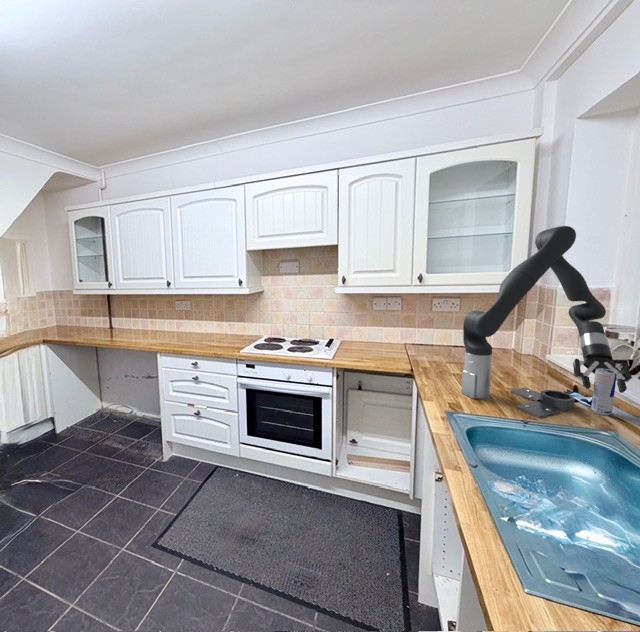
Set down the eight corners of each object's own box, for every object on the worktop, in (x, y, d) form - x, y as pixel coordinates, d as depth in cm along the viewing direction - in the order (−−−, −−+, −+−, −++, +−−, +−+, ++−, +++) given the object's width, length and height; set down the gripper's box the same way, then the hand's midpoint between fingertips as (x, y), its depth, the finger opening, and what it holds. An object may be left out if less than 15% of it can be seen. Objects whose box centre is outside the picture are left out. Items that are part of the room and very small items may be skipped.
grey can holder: (540, 418, 96) (541, 407, 96) (490, 396, 114) (491, 386, 114) (579, 408, 103) (580, 397, 102) (525, 389, 120) (526, 379, 120)
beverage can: (615, 414, 98) (621, 371, 96) (605, 417, 96) (610, 373, 94) (597, 408, 103) (602, 366, 100) (587, 410, 101) (591, 368, 99)
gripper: (573, 341, 106) (581, 382, 98) (626, 344, 100) (640, 388, 92) (567, 351, 112) (574, 391, 103) (617, 355, 106) (629, 397, 97)
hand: (605, 389), depth 97 cm, fingers open, 8 cm apart
